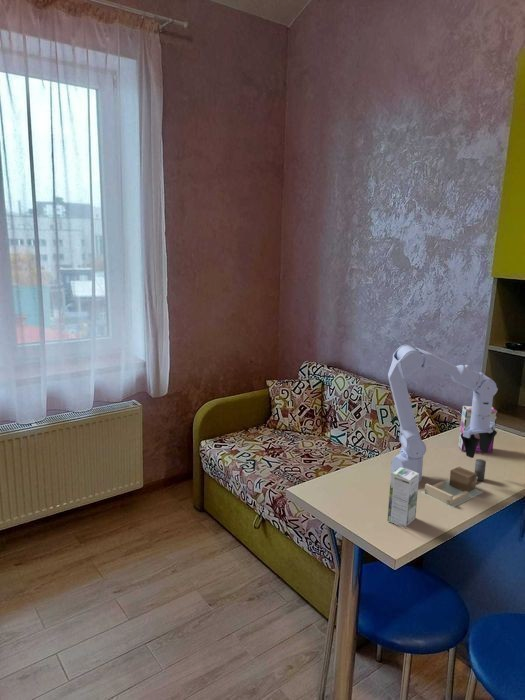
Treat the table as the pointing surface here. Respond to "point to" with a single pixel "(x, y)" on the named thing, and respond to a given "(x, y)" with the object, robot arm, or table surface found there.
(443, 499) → the lane board
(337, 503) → the table surface
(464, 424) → the candy bar box
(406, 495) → the syrup box
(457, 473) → the brown piece
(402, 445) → the robot arm
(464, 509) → the table surface
